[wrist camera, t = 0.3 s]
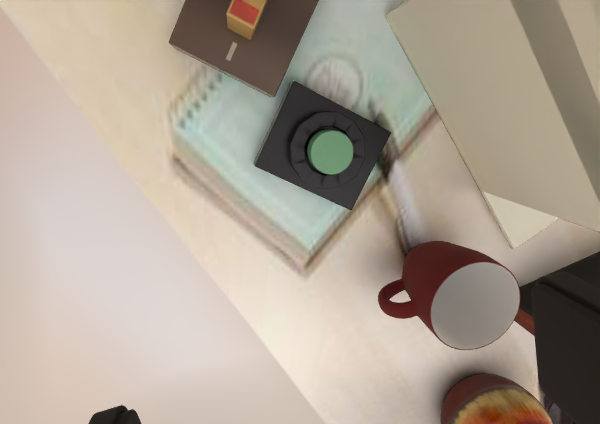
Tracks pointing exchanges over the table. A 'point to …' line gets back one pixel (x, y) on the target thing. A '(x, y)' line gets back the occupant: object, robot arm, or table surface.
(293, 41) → the plate
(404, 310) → the mug
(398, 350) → the table surface
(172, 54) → the table surface
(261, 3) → the thumb turn
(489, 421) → the vase
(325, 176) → the button block
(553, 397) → the robot arm
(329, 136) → the release button
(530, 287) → the radio
